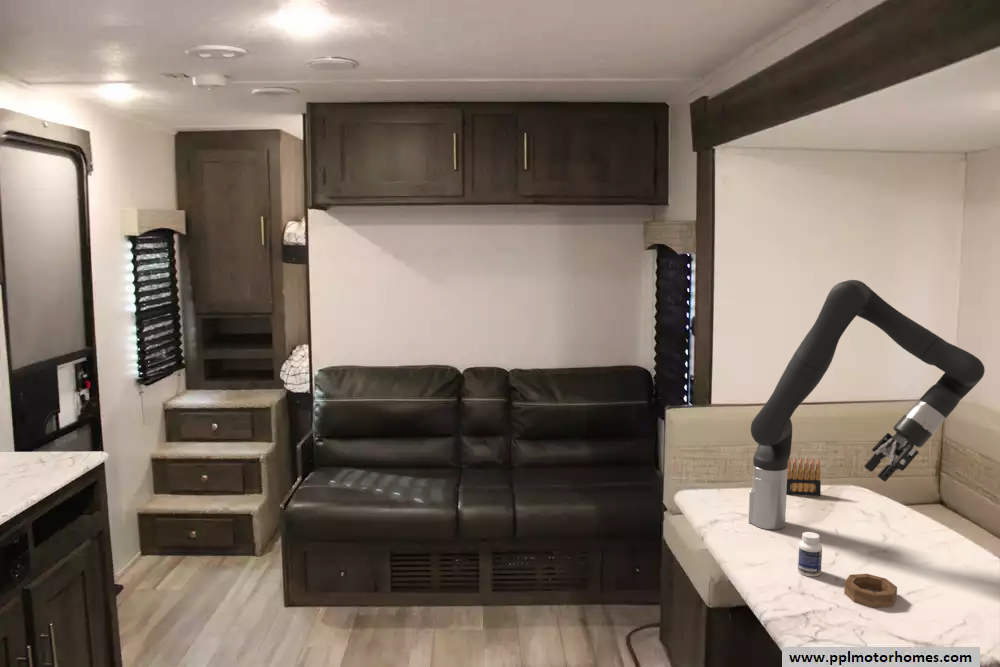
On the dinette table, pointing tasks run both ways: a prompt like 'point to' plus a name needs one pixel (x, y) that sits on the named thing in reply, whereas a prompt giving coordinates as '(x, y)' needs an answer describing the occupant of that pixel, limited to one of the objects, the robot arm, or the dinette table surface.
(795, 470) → the ammunition clip
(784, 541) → the dinette table surface
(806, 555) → the pill bottle
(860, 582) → the walnut ring
